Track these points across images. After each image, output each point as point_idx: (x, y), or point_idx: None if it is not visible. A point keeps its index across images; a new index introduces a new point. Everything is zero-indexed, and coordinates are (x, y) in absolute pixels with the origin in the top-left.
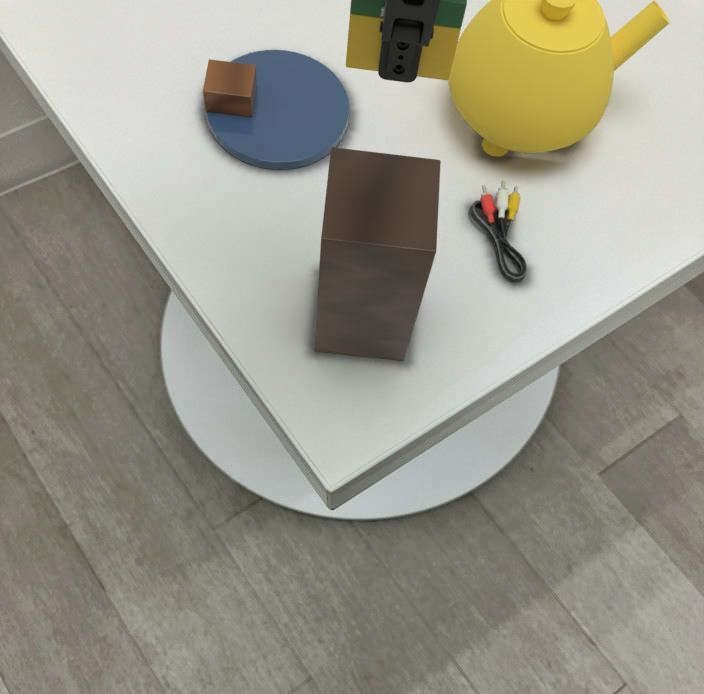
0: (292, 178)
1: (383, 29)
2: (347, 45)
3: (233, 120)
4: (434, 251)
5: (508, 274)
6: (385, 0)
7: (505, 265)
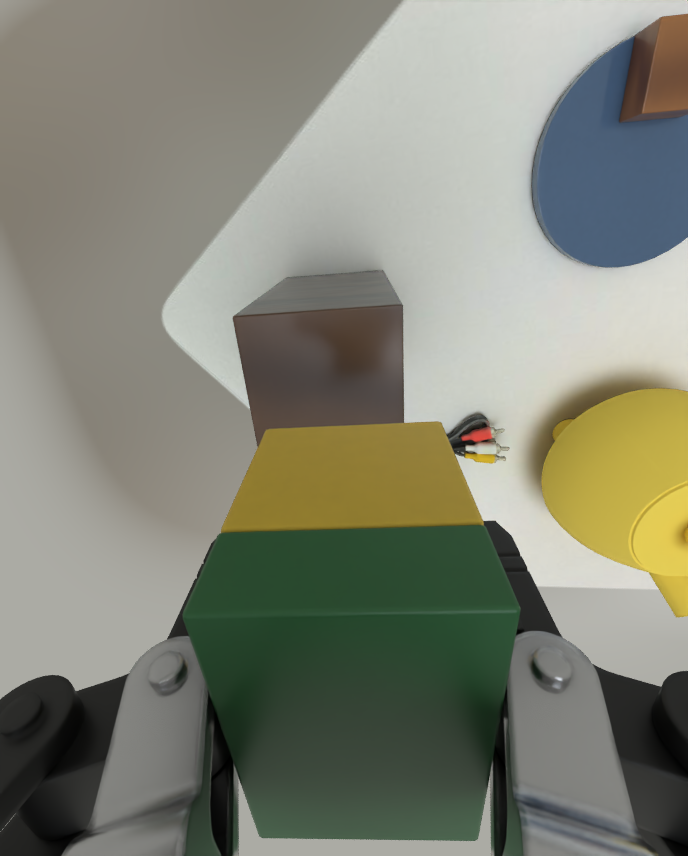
0: (517, 206)
1: None
2: (252, 461)
3: (614, 92)
4: None
5: None
6: (167, 708)
7: None
